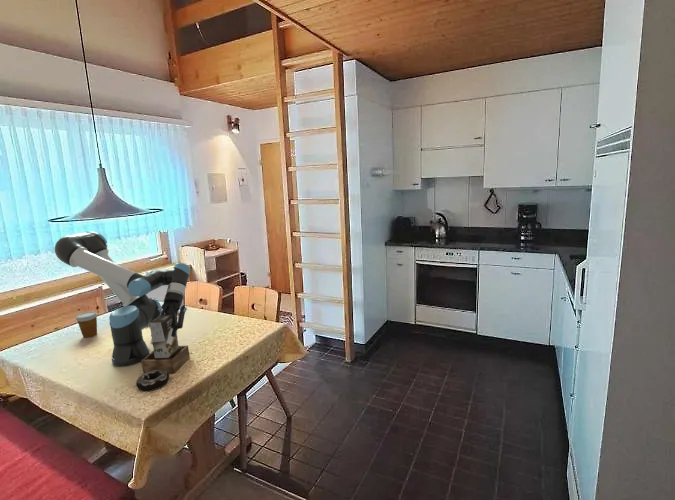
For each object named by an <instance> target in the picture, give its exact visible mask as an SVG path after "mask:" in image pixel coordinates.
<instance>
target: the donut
mask: <svg viewBox="0 0 675 500" xmlns="http://www.w3.org/2000/svg"><path fill="white" fill-rule="evenodd" d="M169 379H170V376H169V374H168V373H167V372H166V371H164V370H153V371H149V372H147V373H145V374H143V373H142V374H141V375H140V376H139V377H138V378H137V379H136V380H135V381H136V382H135V386H136V388H137V390H140V391H142V392H150V391H154V390H158V389H160V388H162V387H164V386H165V385H166V384H167V383H168V381H169Z"/></svg>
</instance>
